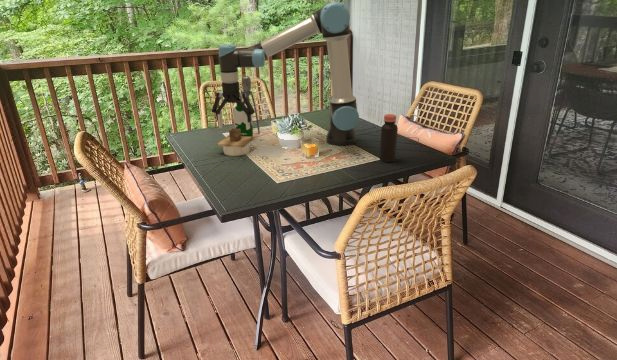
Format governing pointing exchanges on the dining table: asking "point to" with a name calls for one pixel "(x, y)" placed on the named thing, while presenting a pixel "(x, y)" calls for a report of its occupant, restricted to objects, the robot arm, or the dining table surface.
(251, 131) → the milk carton
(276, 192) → the dining table surface
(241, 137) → the lid
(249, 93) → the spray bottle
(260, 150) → the mat
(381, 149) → the bottle
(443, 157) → the dining table surface
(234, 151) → the bowl
